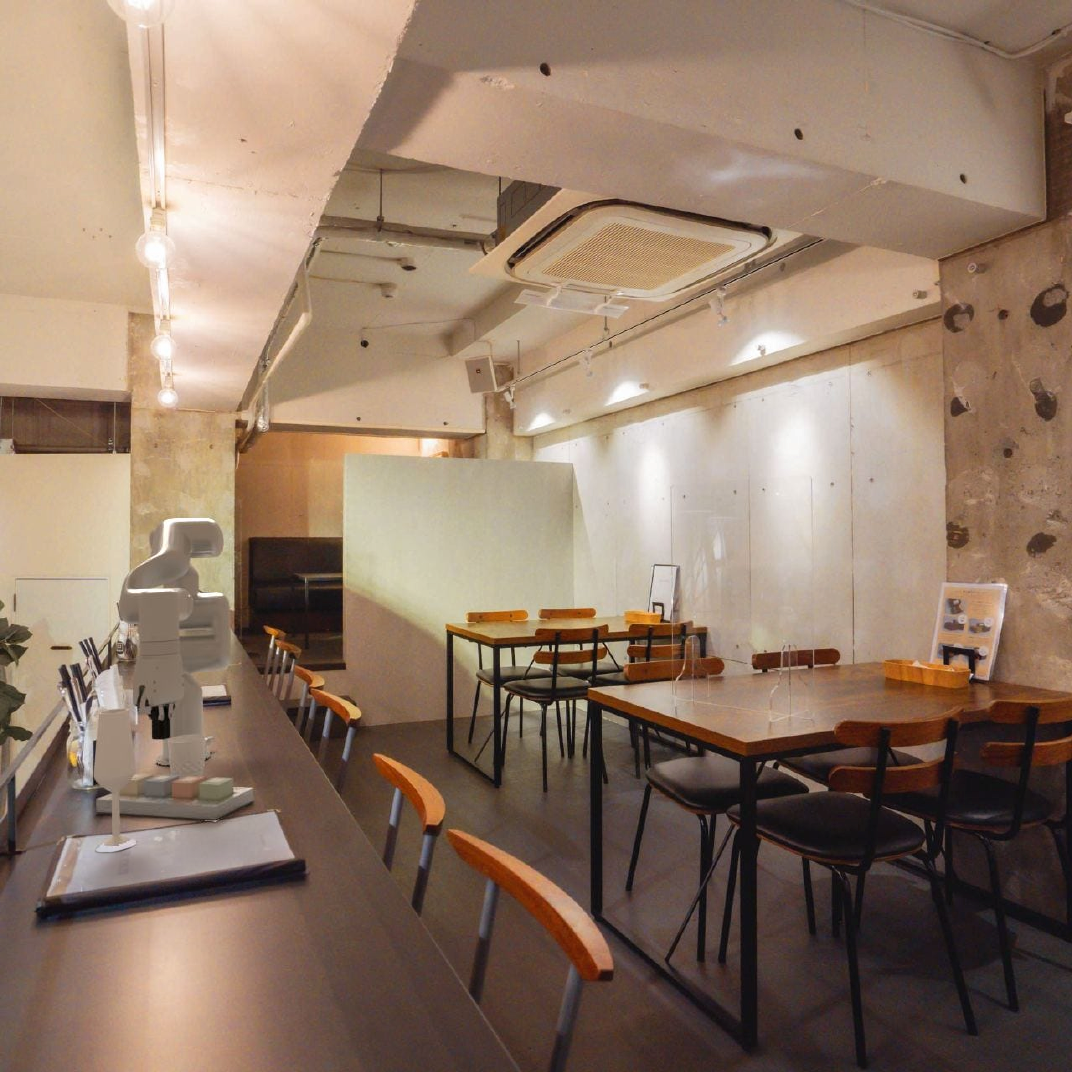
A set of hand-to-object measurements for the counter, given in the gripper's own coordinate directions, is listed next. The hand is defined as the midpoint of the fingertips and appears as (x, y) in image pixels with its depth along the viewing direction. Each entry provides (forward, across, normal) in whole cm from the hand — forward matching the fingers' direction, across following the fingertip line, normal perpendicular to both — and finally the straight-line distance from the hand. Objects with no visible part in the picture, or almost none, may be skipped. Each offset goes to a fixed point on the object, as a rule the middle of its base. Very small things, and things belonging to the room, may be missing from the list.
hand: (161, 738), depth 159 cm
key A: (+12, 0, +6) cm, 13 cm away
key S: (+12, 0, -7) cm, 14 cm away
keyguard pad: (+14, 0, +3) cm, 15 cm away
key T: (+12, 0, 0) cm, 12 cm away
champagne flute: (+15, +20, +7) cm, 25 cm away
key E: (+12, 0, +13) cm, 17 cm away
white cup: (+14, -18, -8) cm, 24 cm away
